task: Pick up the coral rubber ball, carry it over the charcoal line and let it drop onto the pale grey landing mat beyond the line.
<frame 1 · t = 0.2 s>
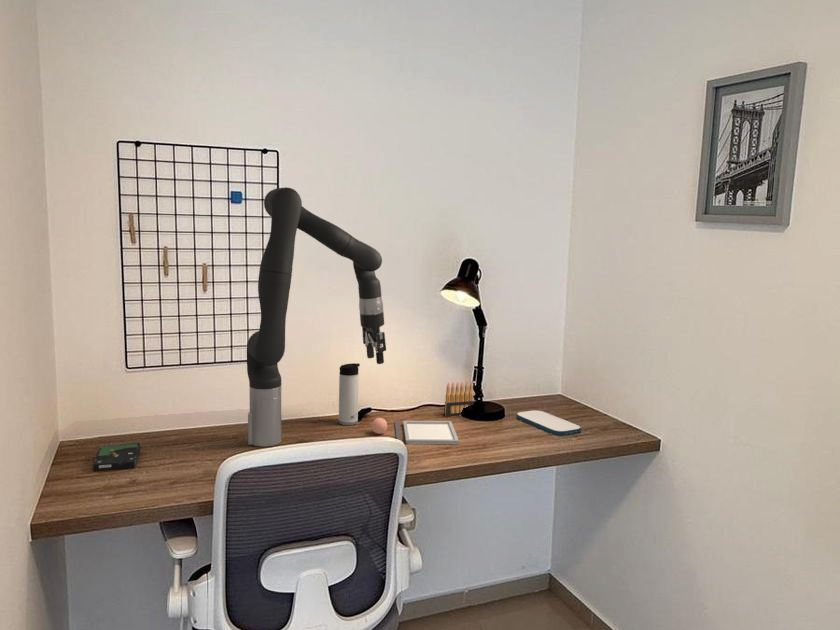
hand: (375, 360, 213), 22 cm above the table, tool pointing down, fingers open, 8 cm apart
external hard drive: (547, 426, 225), on the table
rubber ball: (379, 433, 210), on the table
ammunition clip: (458, 416, 233), on the table
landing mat: (429, 433, 211), on the table
disk drive: (117, 463, 180), on the table
travel mug: (348, 423, 220), on the table
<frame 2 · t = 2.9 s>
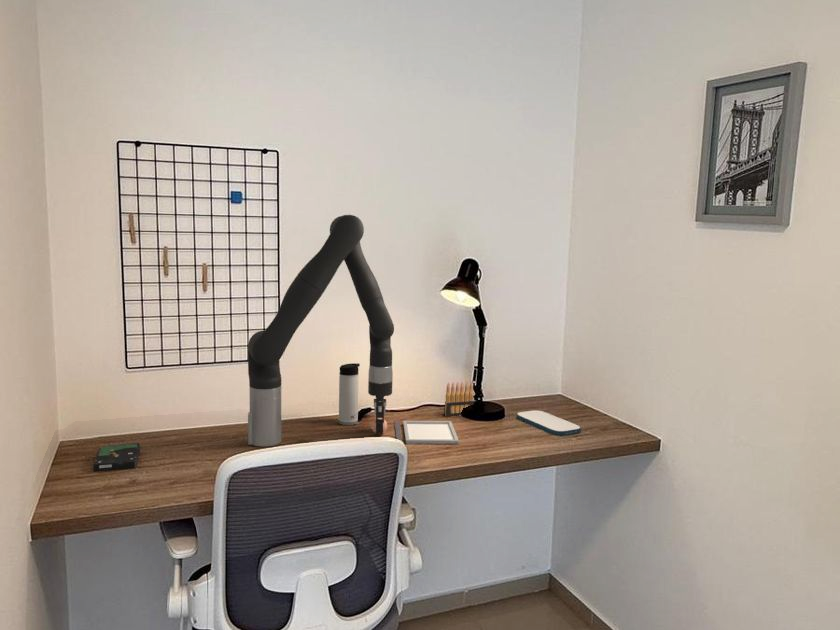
hand: (379, 431, 210), 1 cm above the table, tool pointing down, fingers closed on rubber ball, 5 cm apart
rubber ball: (379, 433, 210), on the table, touching gripper
everything else where it was.
when the fingers open (3 cm above the table, at t = 9.8 s): rubber ball drops 2 cm, resting on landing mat.
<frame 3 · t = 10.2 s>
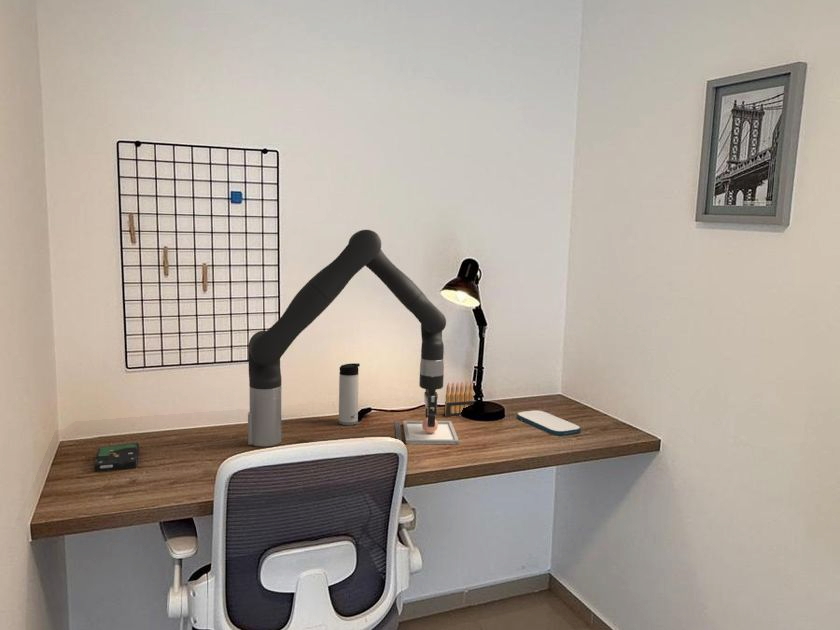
hand: (430, 422, 211), 4 cm above the table, tool pointing down, fingers open, 8 cm apart
rubber ball: (429, 432, 211), resting on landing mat
everything else where it was.
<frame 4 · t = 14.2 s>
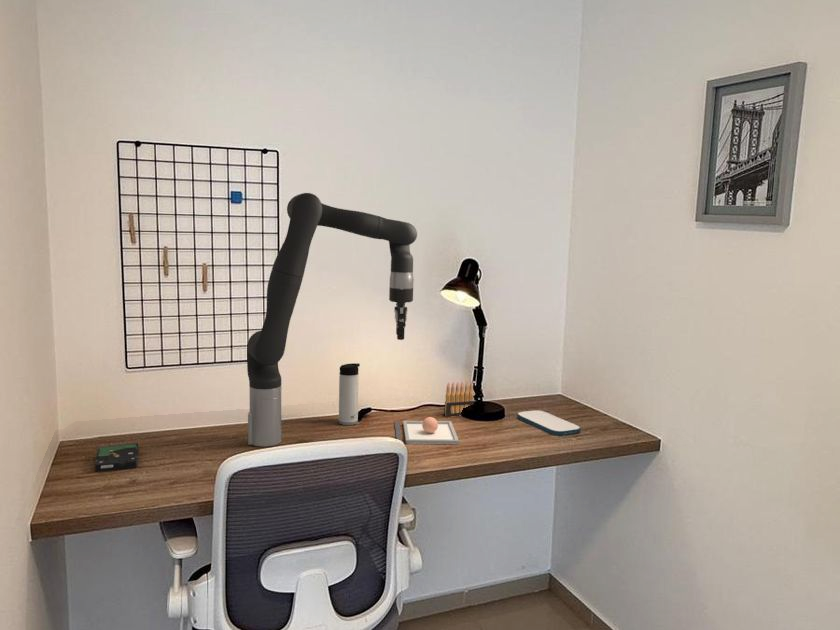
hand: (400, 337, 211), 30 cm above the table, tool pointing down, fingers open, 8 cm apart
nothing on the table moved.
at the end: rubber ball inside the target area (0.0 cm from its centre), resting on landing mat; the gripper is holding nothing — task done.
